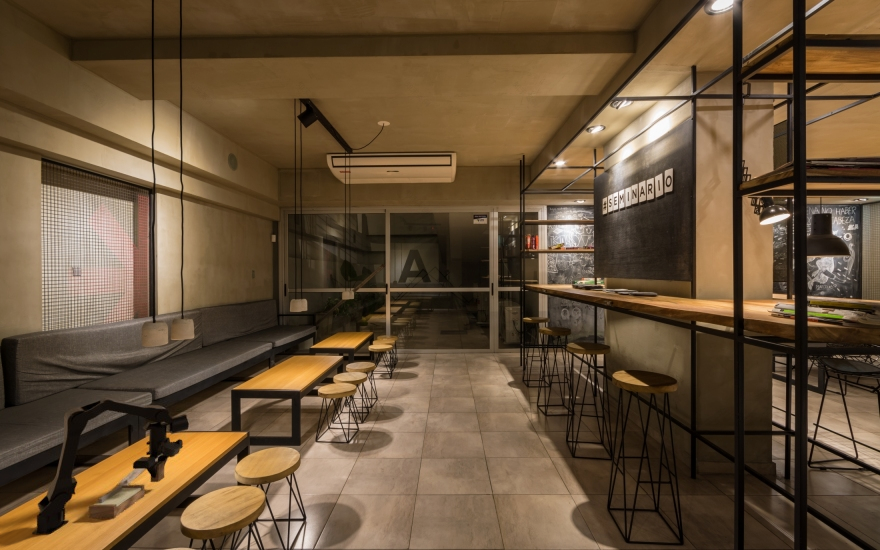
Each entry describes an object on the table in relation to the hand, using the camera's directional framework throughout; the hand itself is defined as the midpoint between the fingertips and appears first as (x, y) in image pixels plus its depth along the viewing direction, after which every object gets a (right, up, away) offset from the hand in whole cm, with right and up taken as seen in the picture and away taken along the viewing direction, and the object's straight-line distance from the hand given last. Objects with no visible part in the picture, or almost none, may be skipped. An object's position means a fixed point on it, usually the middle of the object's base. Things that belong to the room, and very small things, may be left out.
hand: (157, 475), depth 153 cm
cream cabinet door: (-6, -2, -12) cm, 14 cm away
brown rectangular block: (0, -2, 0) cm, 2 cm away
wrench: (-17, -7, +15) cm, 24 cm away
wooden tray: (-6, -5, -12) cm, 14 cm away
